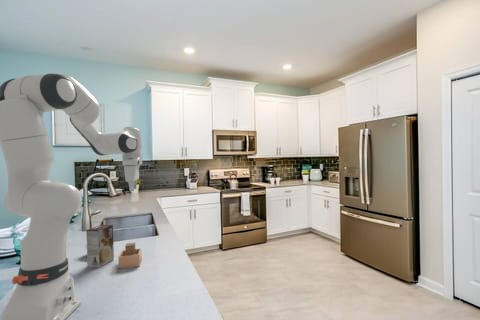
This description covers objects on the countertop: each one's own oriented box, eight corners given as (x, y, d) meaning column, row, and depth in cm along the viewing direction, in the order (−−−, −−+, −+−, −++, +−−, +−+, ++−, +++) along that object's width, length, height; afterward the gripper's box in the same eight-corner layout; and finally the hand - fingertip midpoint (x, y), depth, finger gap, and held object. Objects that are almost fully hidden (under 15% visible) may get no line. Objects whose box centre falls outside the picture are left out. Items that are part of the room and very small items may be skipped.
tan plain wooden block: (134, 263, 112) (134, 245, 112) (125, 264, 111) (125, 245, 111) (135, 260, 115) (135, 242, 115) (127, 261, 114) (126, 243, 114)
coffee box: (102, 258, 119) (101, 224, 119) (114, 259, 118) (113, 224, 118) (86, 267, 110) (85, 229, 110) (99, 268, 109) (98, 230, 109)
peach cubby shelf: (139, 266, 110) (139, 254, 110) (118, 268, 108) (118, 256, 108) (141, 259, 118) (141, 248, 118) (122, 261, 116) (122, 250, 116)
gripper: (128, 161, 134) (129, 188, 134) (121, 161, 114) (122, 192, 114) (141, 161, 135) (142, 187, 135) (136, 161, 116) (137, 191, 116)
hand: (133, 189), depth 124 cm, fingers open, 8 cm apart
